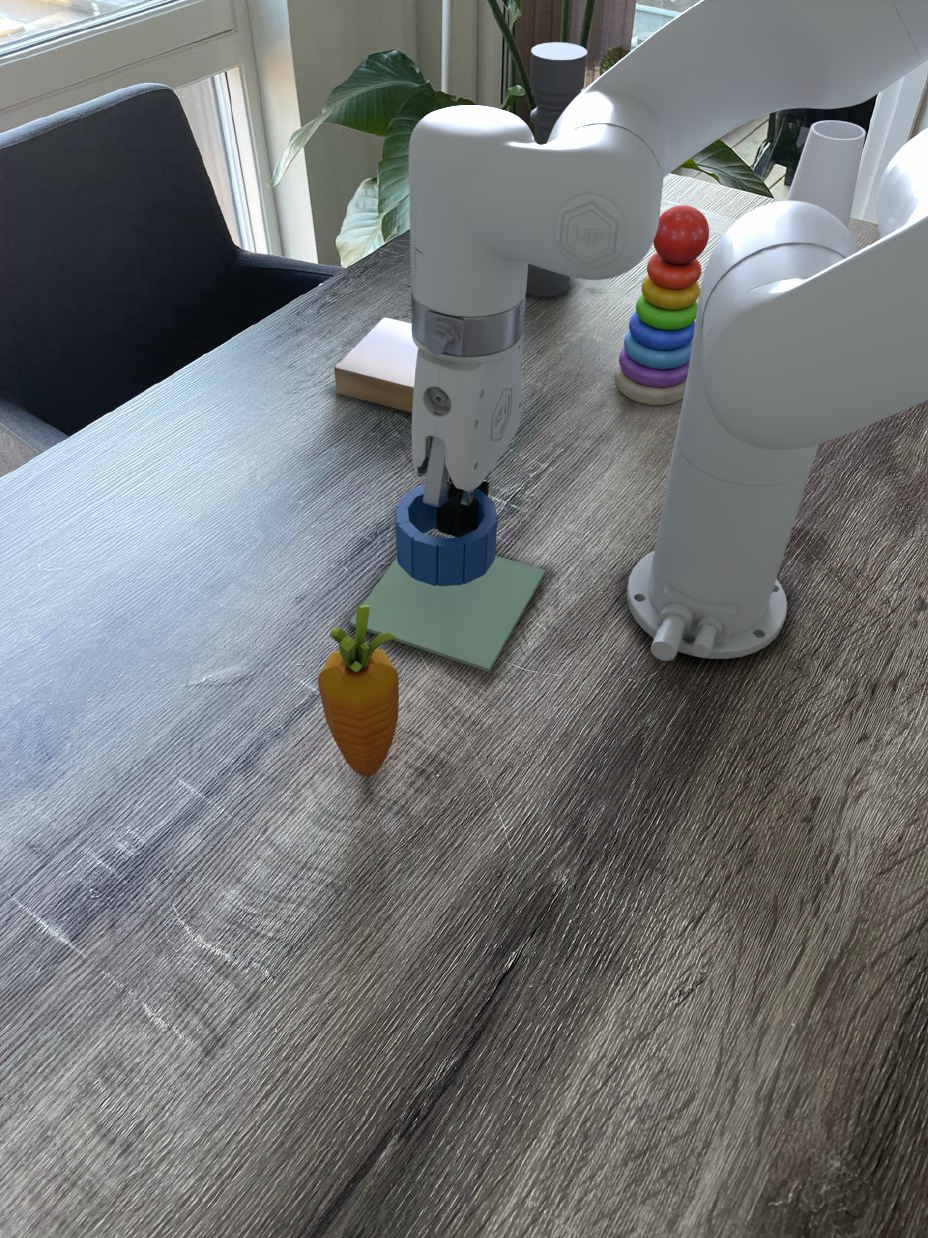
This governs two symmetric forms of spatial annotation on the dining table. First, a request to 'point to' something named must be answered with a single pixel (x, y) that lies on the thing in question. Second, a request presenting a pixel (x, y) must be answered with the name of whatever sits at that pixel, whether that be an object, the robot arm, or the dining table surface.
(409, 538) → the ring
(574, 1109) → the dining table surface
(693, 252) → the stacking toy
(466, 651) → the mat
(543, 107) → the candle holder
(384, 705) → the carrot
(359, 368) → the platform
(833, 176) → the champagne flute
